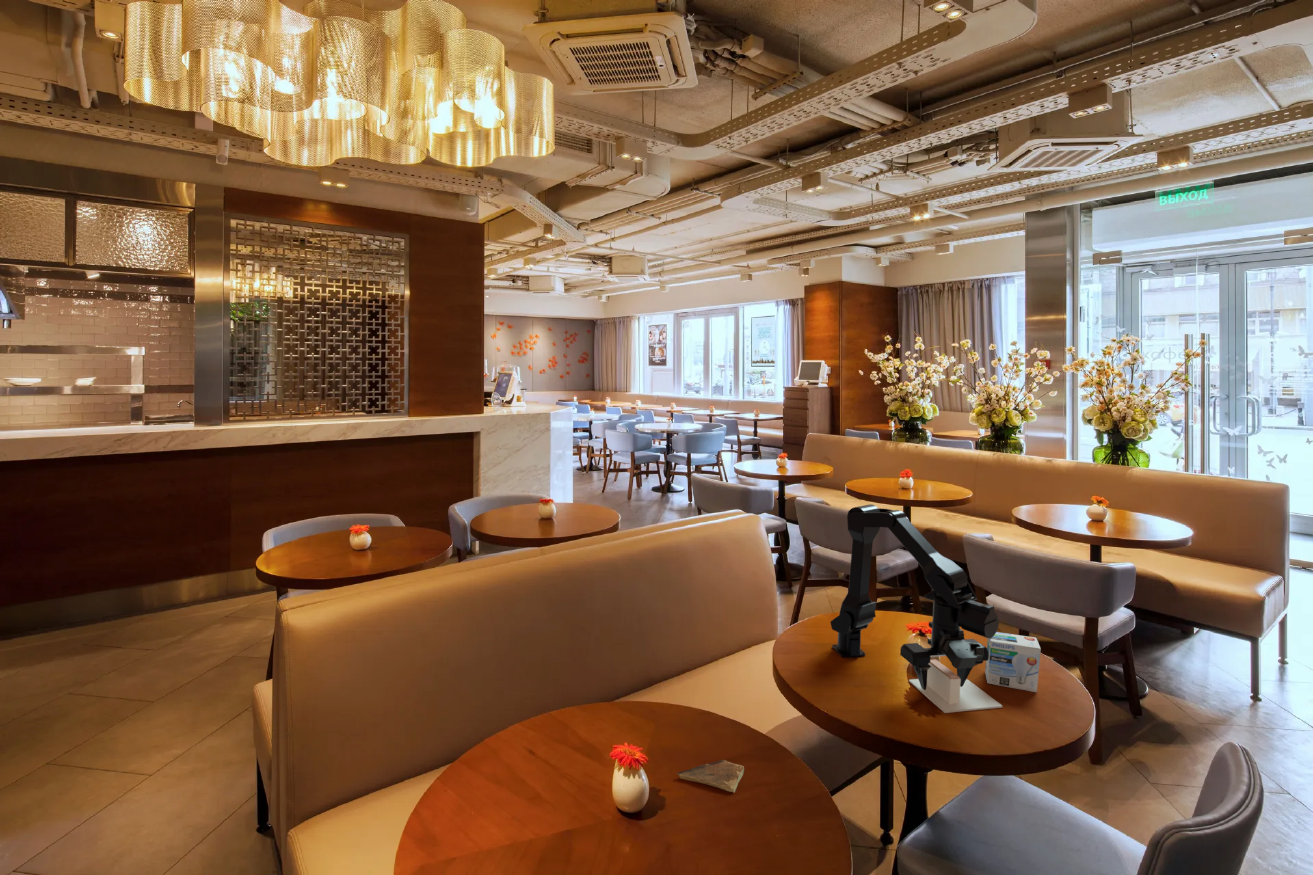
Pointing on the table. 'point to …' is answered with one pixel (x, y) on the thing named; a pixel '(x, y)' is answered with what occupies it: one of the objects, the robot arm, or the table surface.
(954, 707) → the mat
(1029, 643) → the light bulb box
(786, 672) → the table surface
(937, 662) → the domino block
